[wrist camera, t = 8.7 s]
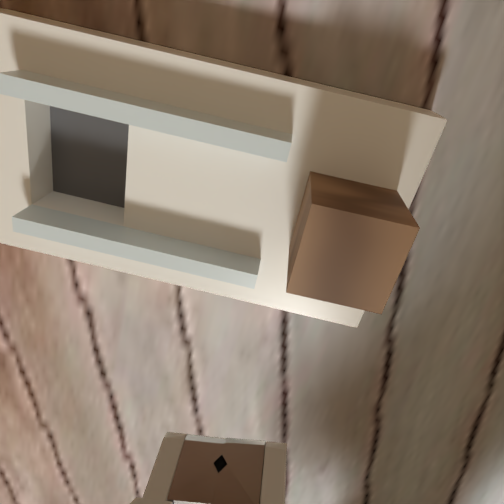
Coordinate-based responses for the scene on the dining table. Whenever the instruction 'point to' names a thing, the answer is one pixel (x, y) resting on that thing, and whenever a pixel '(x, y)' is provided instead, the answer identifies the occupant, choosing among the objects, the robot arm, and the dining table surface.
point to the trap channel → (182, 158)
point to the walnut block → (349, 243)
